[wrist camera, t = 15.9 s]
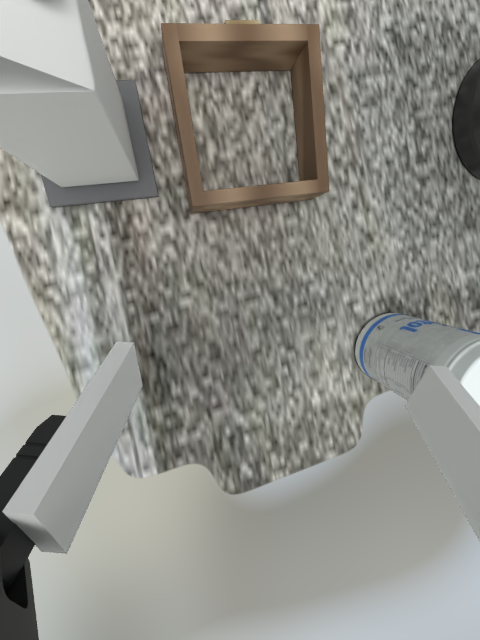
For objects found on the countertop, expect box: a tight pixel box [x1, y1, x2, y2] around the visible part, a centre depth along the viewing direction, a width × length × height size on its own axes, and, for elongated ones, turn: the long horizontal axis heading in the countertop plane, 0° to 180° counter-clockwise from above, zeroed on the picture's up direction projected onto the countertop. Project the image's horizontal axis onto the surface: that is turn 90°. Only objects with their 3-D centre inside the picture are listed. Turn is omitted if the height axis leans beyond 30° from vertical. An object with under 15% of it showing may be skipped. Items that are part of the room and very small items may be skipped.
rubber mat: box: [41, 80, 158, 208], centre depth 26 cm, size 10×10×1 cm
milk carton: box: [0, 0, 139, 187], centre depth 17 cm, size 7×7×19 cm
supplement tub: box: [355, 313, 480, 406], centre depth 31 cm, size 10×10×15 cm
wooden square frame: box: [161, 20, 329, 214], centre depth 27 cm, size 14×15×4 cm
